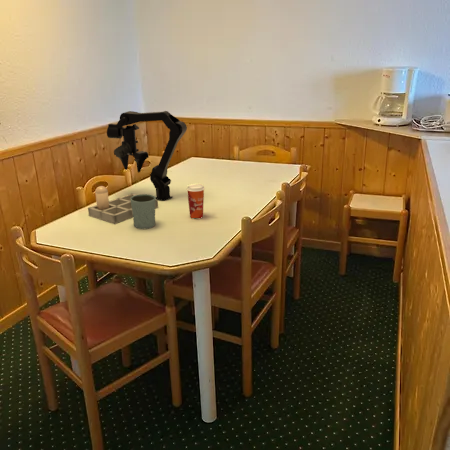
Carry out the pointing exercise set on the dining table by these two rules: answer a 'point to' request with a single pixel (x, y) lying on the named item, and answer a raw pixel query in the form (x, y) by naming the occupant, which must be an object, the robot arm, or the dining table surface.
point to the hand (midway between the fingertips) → (132, 170)
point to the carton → (115, 210)
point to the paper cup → (195, 200)
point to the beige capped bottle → (102, 198)
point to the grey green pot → (143, 210)
